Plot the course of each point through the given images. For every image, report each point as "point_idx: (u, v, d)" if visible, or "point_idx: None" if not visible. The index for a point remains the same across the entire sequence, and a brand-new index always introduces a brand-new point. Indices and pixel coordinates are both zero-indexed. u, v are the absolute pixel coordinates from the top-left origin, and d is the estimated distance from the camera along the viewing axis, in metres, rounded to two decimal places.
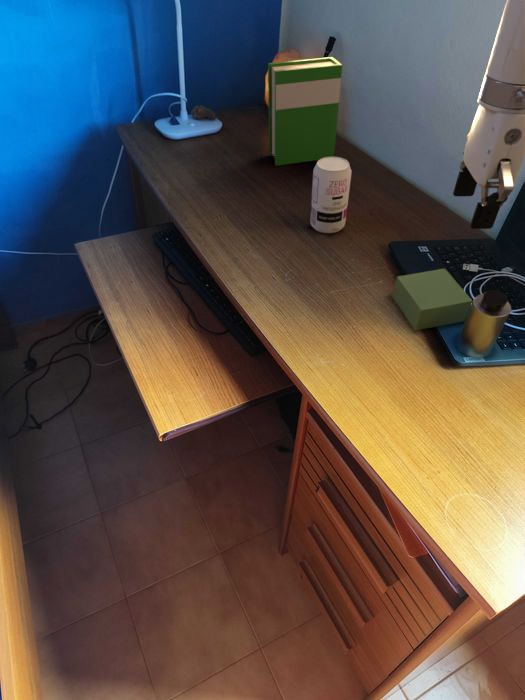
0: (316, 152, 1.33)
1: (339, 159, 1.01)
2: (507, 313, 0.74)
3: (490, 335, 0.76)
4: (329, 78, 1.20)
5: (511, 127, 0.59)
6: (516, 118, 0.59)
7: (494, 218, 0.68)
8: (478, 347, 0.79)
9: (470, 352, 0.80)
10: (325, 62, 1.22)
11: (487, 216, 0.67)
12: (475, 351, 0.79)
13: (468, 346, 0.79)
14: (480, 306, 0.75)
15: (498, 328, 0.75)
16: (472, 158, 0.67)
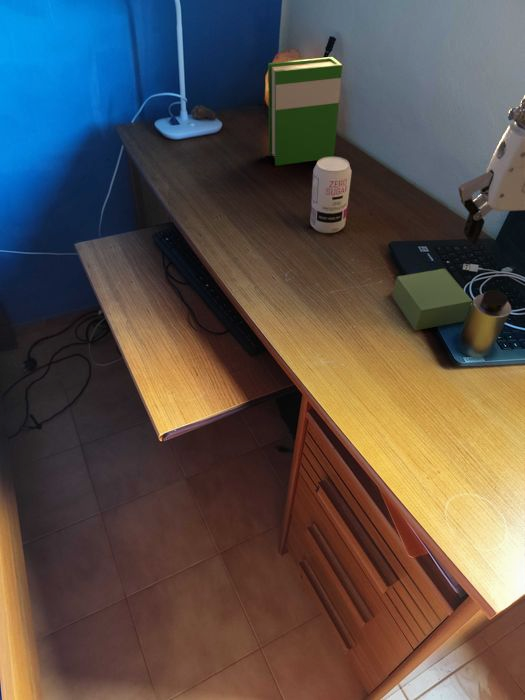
0: (316, 152, 1.33)
1: (339, 159, 1.01)
2: (507, 313, 0.74)
3: (490, 335, 0.76)
4: (329, 78, 1.20)
5: (504, 139, 0.59)
6: (509, 132, 0.58)
7: (474, 234, 0.67)
8: (478, 347, 0.79)
9: (470, 352, 0.80)
10: (325, 62, 1.22)
11: (468, 224, 0.67)
12: (475, 351, 0.79)
13: (468, 346, 0.79)
14: (480, 306, 0.75)
15: (498, 328, 0.75)
16: None
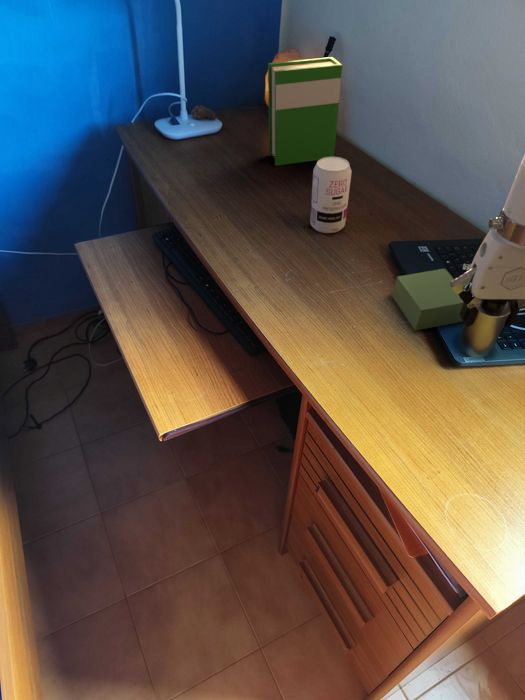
0: (316, 152, 1.33)
1: (339, 159, 1.01)
2: (507, 313, 0.74)
3: (490, 335, 0.76)
4: (329, 78, 1.20)
5: (485, 241, 0.67)
6: (490, 236, 0.66)
7: (468, 319, 0.76)
8: (478, 347, 0.79)
9: (470, 352, 0.80)
10: (325, 62, 1.22)
11: (463, 310, 0.76)
12: (475, 351, 0.79)
13: (468, 346, 0.79)
14: (480, 306, 0.75)
15: (498, 328, 0.75)
16: None
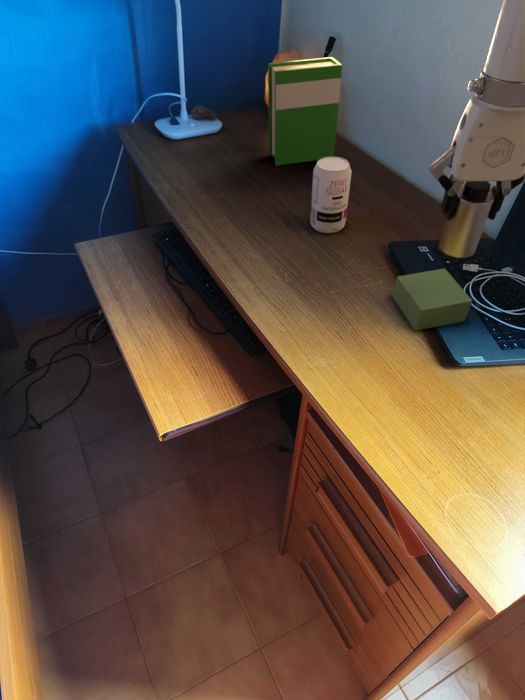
0: (316, 152, 1.33)
1: (339, 159, 1.01)
2: (490, 200, 0.69)
3: (473, 228, 0.71)
4: (329, 78, 1.20)
5: (465, 111, 0.62)
6: (470, 103, 0.61)
7: (449, 210, 0.71)
8: (460, 244, 0.74)
9: (452, 251, 0.75)
10: (325, 62, 1.22)
11: (444, 201, 0.71)
12: (458, 249, 0.74)
13: (450, 244, 0.74)
14: (461, 195, 0.70)
15: (481, 219, 0.70)
16: None
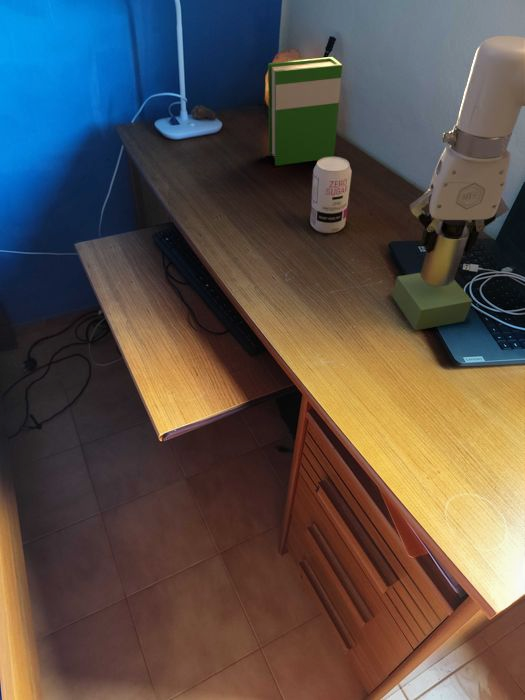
0: (316, 152, 1.33)
1: (339, 159, 1.01)
2: (465, 236, 0.75)
3: (450, 260, 0.78)
4: (329, 78, 1.20)
5: (441, 158, 0.69)
6: (444, 152, 0.68)
7: (429, 244, 0.77)
8: (439, 274, 0.80)
9: (432, 280, 0.81)
10: (325, 62, 1.22)
11: (423, 235, 0.78)
12: (437, 279, 0.81)
13: (430, 274, 0.81)
14: (439, 231, 0.76)
15: (457, 252, 0.77)
16: None
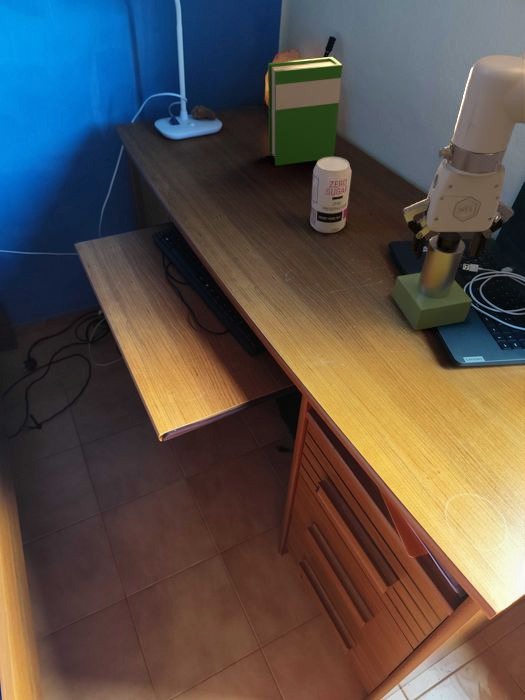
0: (316, 152, 1.33)
1: (339, 159, 1.01)
2: (461, 250, 0.77)
3: (445, 273, 0.80)
4: (329, 78, 1.20)
5: (437, 172, 0.70)
6: (441, 166, 0.69)
7: (418, 250, 0.78)
8: (435, 287, 0.82)
9: (429, 292, 0.83)
10: (325, 62, 1.22)
11: (413, 241, 0.79)
12: (433, 291, 0.83)
13: (427, 286, 0.83)
14: (435, 245, 0.78)
15: (453, 266, 0.79)
16: None
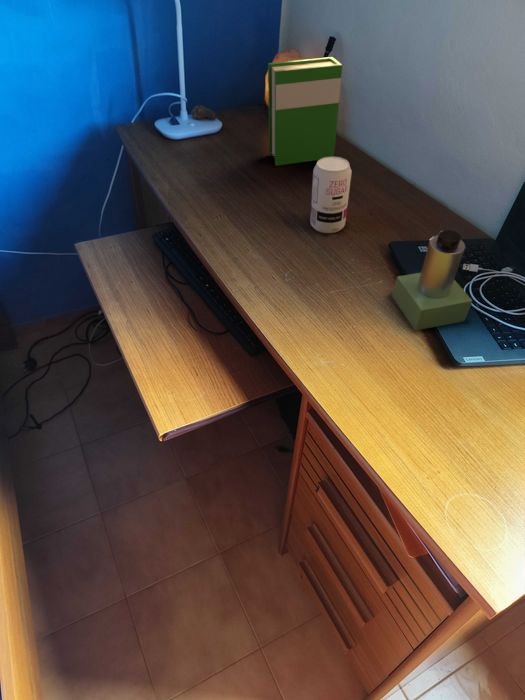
0: (316, 152, 1.33)
1: (339, 159, 1.01)
2: (461, 250, 0.77)
3: (445, 273, 0.80)
4: (329, 78, 1.20)
5: None
6: None
7: None
8: (435, 287, 0.82)
9: (429, 292, 0.83)
10: (325, 62, 1.22)
11: None
12: (433, 291, 0.83)
13: (427, 286, 0.83)
14: (435, 245, 0.78)
15: (453, 266, 0.79)
16: None
